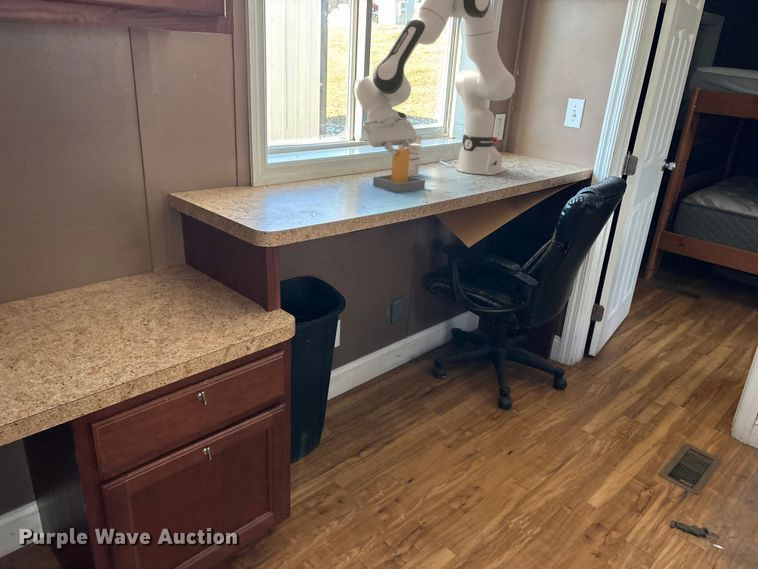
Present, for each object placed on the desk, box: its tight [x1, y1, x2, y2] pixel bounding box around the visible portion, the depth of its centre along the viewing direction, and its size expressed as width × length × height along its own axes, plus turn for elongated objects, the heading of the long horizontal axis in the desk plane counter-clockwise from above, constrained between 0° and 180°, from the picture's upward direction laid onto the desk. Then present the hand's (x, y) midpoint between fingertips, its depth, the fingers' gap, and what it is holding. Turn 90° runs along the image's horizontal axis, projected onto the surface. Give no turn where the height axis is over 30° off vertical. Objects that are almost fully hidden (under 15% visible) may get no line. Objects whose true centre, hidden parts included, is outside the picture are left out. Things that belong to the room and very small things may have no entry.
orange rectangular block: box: [390, 148, 410, 183], centre depth 191 cm, size 4×4×12 cm
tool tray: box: [372, 173, 426, 194], centre depth 193 cm, size 13×13×3 cm
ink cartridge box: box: [397, 134, 422, 177], centre depth 212 cm, size 9×5×15 cm, turn 84°
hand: (402, 154), depth 189 cm, fingers open, 5 cm apart
